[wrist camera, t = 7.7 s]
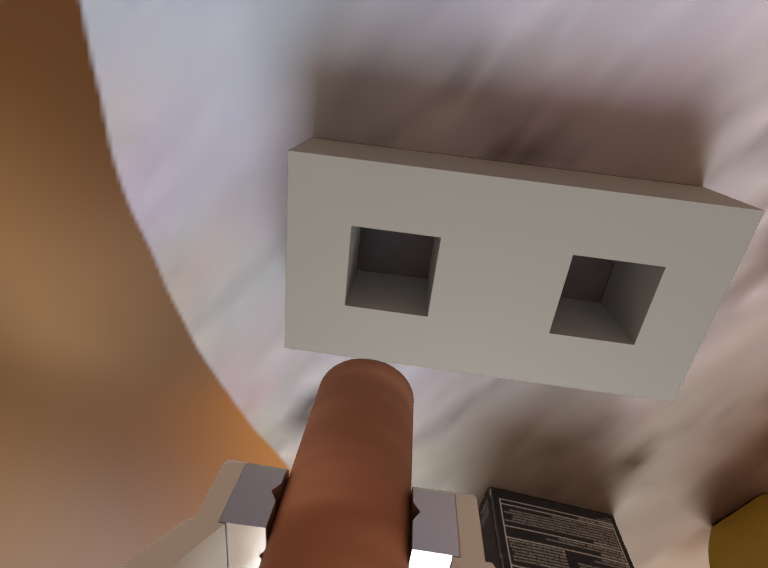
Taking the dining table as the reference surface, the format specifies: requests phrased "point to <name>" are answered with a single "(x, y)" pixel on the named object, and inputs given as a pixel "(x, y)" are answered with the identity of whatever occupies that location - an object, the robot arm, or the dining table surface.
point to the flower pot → (741, 537)
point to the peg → (350, 475)
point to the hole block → (507, 267)
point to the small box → (547, 534)
